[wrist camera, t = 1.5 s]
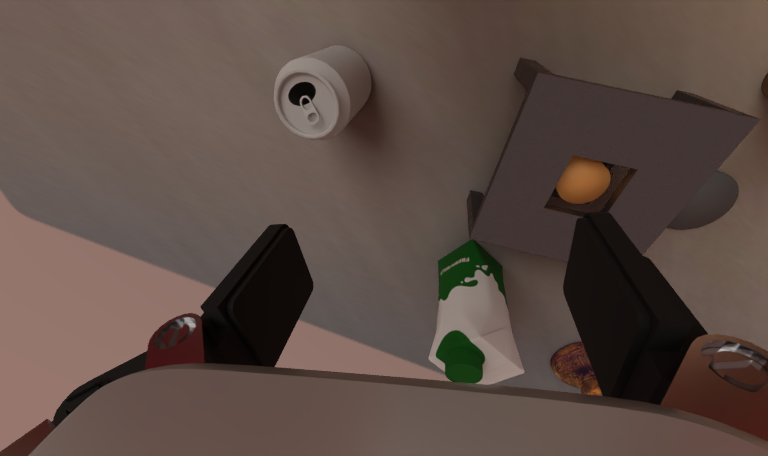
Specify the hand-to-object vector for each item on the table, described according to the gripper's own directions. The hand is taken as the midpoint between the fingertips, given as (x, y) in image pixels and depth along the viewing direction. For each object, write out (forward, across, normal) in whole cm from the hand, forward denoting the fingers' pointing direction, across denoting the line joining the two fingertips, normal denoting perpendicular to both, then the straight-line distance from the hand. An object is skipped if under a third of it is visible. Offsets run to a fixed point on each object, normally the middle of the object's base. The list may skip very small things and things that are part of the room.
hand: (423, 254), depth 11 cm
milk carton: (+32, -2, +28) cm, 42 cm away
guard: (+32, -14, +10) cm, 36 cm away
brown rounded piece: (+32, -23, +51) cm, 65 cm away
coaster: (+32, -29, +18) cm, 46 cm away
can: (+32, +12, -2) cm, 34 cm away
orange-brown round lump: (+28, -13, +10) cm, 33 cm away
